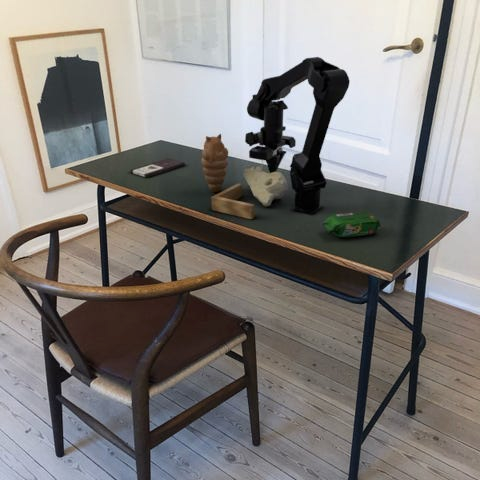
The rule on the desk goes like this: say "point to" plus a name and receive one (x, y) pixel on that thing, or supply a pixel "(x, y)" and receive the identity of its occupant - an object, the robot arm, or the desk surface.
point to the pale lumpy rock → (265, 184)
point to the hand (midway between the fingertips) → (272, 175)
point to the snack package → (352, 224)
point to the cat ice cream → (214, 162)
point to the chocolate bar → (157, 167)
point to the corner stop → (232, 203)
